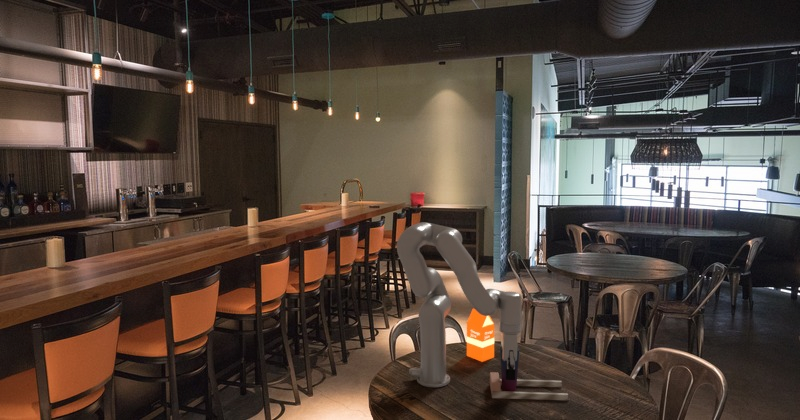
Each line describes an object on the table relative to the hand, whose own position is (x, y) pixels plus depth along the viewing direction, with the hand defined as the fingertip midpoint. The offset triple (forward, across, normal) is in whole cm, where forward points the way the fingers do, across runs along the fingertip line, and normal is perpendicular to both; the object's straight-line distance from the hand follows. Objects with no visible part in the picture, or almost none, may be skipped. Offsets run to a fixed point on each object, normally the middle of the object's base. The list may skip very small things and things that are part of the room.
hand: (509, 374), depth 185 cm
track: (+6, 0, +6) cm, 9 cm away
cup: (+5, 0, 0) cm, 5 cm away
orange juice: (+6, -32, -8) cm, 34 cm away
